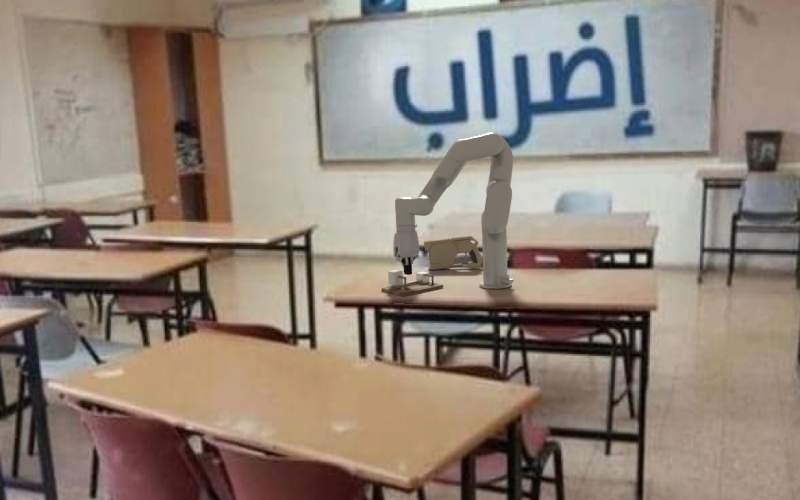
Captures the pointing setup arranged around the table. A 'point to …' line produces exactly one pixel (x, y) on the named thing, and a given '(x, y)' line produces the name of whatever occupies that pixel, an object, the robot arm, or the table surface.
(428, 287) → the hole board
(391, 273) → the sliding leg
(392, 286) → the beam
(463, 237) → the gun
